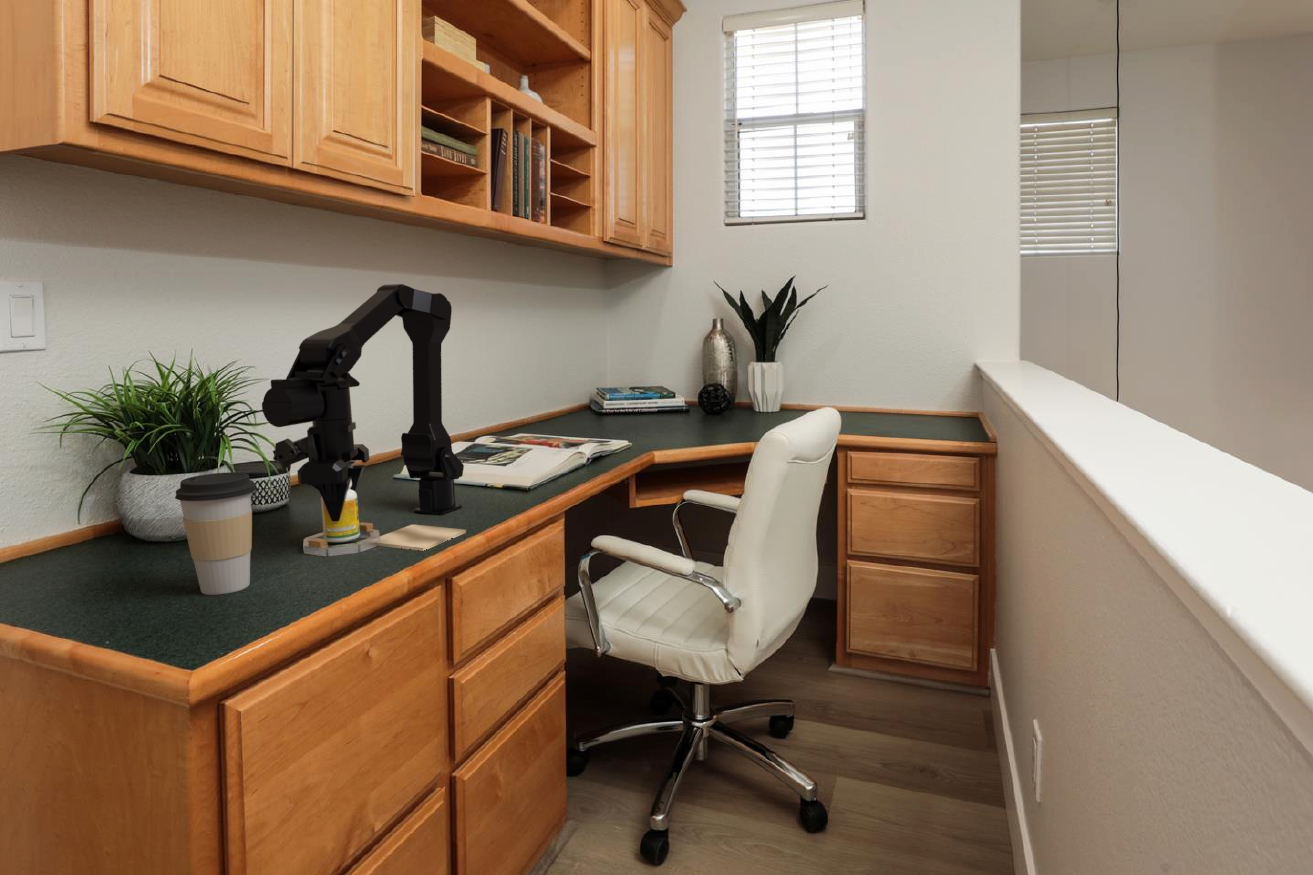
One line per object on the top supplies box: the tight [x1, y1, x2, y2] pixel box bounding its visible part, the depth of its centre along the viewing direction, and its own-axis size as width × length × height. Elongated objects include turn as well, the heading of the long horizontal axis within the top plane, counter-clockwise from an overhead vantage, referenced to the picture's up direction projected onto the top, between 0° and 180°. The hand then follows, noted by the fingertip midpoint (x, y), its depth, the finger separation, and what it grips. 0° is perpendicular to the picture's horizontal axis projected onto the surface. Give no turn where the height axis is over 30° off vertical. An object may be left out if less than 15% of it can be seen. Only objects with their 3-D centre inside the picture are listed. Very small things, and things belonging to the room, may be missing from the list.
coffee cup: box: [174, 471, 257, 596], centre depth 105 cm, size 9×9×15 cm
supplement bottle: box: [320, 480, 360, 543], centre depth 125 cm, size 5×5×10 cm
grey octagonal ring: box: [302, 521, 381, 557], centre depth 125 cm, size 11×11×2 cm
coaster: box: [376, 523, 467, 552], centre depth 128 cm, size 11×11×1 cm
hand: (340, 516), depth 125 cm, fingers closed on supplement bottle, 5 cm apart
